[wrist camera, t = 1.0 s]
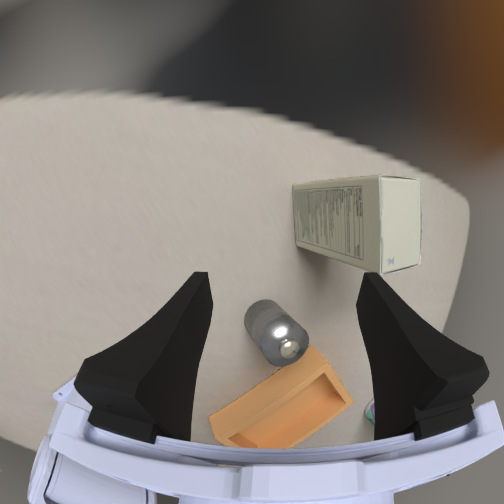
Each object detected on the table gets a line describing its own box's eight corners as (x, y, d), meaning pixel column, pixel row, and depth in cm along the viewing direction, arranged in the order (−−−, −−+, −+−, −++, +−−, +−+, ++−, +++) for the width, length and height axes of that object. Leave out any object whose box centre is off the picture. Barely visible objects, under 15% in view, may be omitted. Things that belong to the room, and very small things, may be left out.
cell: (257, 342, 28) (282, 377, 22) (236, 316, 27) (258, 350, 20) (288, 319, 28) (319, 349, 22) (269, 291, 27) (299, 319, 21)
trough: (252, 447, 31) (261, 466, 28) (208, 416, 28) (214, 438, 25) (339, 386, 33) (354, 401, 30) (311, 345, 30) (328, 361, 26)
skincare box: (331, 241, 28) (421, 270, 17) (294, 246, 27) (379, 282, 15) (329, 179, 27) (424, 177, 15) (291, 180, 25) (380, 174, 14)
